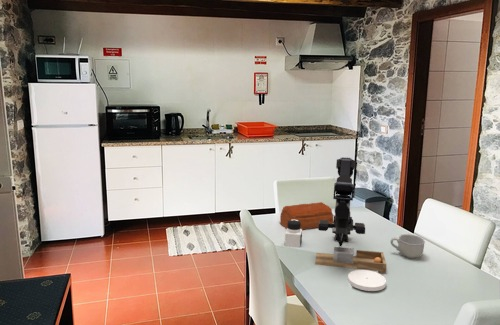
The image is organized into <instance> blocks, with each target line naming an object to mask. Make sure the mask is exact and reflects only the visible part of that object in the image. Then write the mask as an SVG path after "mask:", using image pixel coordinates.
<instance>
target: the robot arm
mask: <svg viewBox="0 0 500 325" xmlns="http://www.w3.org/2000/svg"><path fill="white" fill-rule="evenodd" d="M335 164H336V166H335V168H336V169H337V174H338V177H337V178H336V182H334V188H333V198H332V199H333V200H335V207H334V214H333V215H334V216H333V224H332V223H328V220H320V221H319V227H318V229H317V230H318V231H321V232H323V231H324V232H326V231H328V230H329V229H332V234H335V235H334V241H335V242H338V247H343V244H344V242H345V243H348V242H349V235H351V232H353V231H354V232H355V233H356V234H359V235H360V234H361V235H366V225H365V223H363V222H354V219H353V216H351V201H353V200H354V199H355V195H356V187H355V184H354V183H353V179H352V178H351V177H352V176H353V174H354V171H355V170H356V160H355V159H352V157H340V158H337V159H336V163H335Z"/></svg>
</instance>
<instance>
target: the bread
mask: <svg viewBox="0 0 500 325" xmlns="http://www.w3.org/2000/svg"><path fill="white" fill-rule="evenodd" d="M334 215H335V214H333V212H332V208H331V207H330V206H329V205H327V204H325V203H324V202H320V201H319V202H313V203H312V202H311V203H299V204H294V205H285V206H283V207H282V210H281V213H280V220H279V222H280V226H282V227H283V228H284V227H285V230H287V222H288V221H289V220H298V221H300V222H301V228H300V229H302V231H304V230H309V229H317V227H318V228H319V221H320V220H328V223H332V224H333V222H334Z"/></svg>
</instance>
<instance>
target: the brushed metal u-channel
mask: <svg viewBox="0 0 500 325" xmlns="http://www.w3.org/2000/svg"><path fill="white" fill-rule="evenodd" d="M333 254H334V262H333V263H342V264H353V256H354V254H355V250H354V248H353V247H344V246H333Z"/></svg>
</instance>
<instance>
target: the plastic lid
mask: <svg viewBox="0 0 500 325" xmlns="http://www.w3.org/2000/svg"><path fill="white" fill-rule="evenodd" d="M347 281H348V283H349V284H350V286H352V287H353V288H356V289H358V290H362V291H366V292H378V291H381V290H384V289H385V288H386V285H387V279H386V277H385V276H383V275H382V273H378V271H375V270H364V269H355V270H352V271H350V272H348V274H347Z"/></svg>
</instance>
